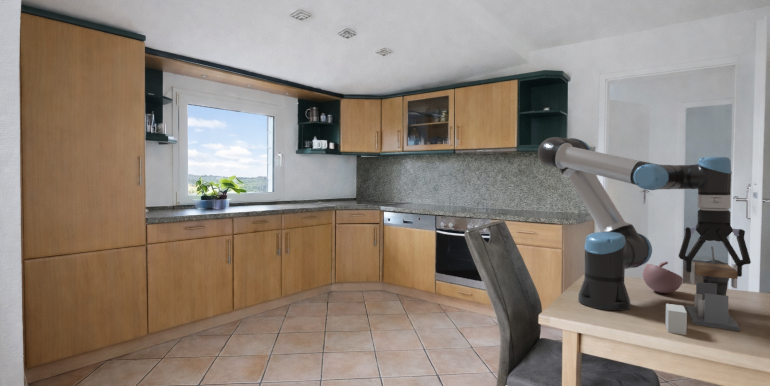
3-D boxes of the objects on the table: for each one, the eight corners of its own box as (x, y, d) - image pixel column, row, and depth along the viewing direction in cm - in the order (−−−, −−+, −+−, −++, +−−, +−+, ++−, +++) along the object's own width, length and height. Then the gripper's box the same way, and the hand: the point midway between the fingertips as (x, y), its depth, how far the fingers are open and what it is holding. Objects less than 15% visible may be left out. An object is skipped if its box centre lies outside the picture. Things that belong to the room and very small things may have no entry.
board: (696, 275, 116) (697, 268, 116) (691, 268, 125) (691, 261, 125) (737, 278, 111) (737, 271, 111) (728, 271, 121) (728, 264, 121)
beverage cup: (734, 312, 124) (737, 248, 124) (708, 311, 126) (710, 248, 125) (720, 305, 132) (722, 245, 131) (695, 304, 133) (697, 244, 132)
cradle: (693, 324, 114) (694, 293, 114) (685, 307, 129) (686, 280, 129) (739, 331, 109) (740, 298, 109) (725, 313, 124) (726, 284, 124)
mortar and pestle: (690, 296, 142) (691, 264, 142) (663, 298, 139) (664, 265, 139) (660, 287, 154) (661, 257, 153) (634, 289, 151) (635, 259, 151)
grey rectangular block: (667, 332, 108) (668, 310, 108) (665, 324, 114) (665, 303, 114) (686, 335, 106) (686, 312, 106) (682, 326, 112) (683, 305, 112)
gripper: (670, 209, 120) (669, 283, 121) (767, 211, 109) (766, 293, 110) (667, 207, 127) (666, 278, 127) (759, 209, 116) (757, 287, 116)
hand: (712, 285), depth 118 cm, fingers closed on board, 9 cm apart
